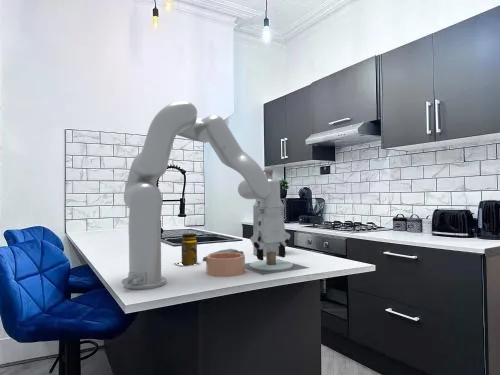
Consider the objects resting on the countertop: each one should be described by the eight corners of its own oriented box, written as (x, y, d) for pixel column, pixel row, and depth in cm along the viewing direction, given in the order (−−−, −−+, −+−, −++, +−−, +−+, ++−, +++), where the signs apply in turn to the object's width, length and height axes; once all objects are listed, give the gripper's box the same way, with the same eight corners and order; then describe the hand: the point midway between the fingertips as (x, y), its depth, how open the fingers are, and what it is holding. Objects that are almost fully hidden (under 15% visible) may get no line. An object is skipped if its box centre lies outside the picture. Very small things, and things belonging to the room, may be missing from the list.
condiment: (200, 264, 139) (200, 233, 139) (180, 267, 134) (180, 235, 135) (193, 261, 145) (192, 232, 145) (173, 264, 140) (173, 234, 141)
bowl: (238, 278, 115) (238, 259, 115) (201, 276, 118) (201, 258, 118) (248, 269, 127) (248, 253, 127) (214, 268, 130) (213, 252, 130)
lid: (290, 271, 121) (290, 256, 122) (245, 270, 125) (245, 255, 125) (294, 262, 137) (294, 249, 137) (254, 261, 141) (254, 248, 141)
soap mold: (244, 255, 160) (244, 248, 160) (223, 264, 142) (223, 255, 142) (224, 254, 164) (224, 246, 164) (201, 262, 146) (201, 253, 146)
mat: (262, 275, 117) (262, 274, 117) (235, 265, 135) (235, 264, 135) (309, 268, 127) (309, 267, 127) (278, 260, 145) (278, 259, 145)
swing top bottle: (246, 255, 156) (244, 166, 157) (267, 250, 170) (266, 168, 171) (270, 258, 149) (268, 164, 150) (290, 252, 163) (288, 167, 164)
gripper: (255, 213, 124) (256, 262, 124) (295, 211, 132) (296, 257, 132) (245, 212, 130) (246, 259, 130) (283, 211, 139) (284, 254, 139)
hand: (271, 258), depth 131 cm, fingers open, 9 cm apart
